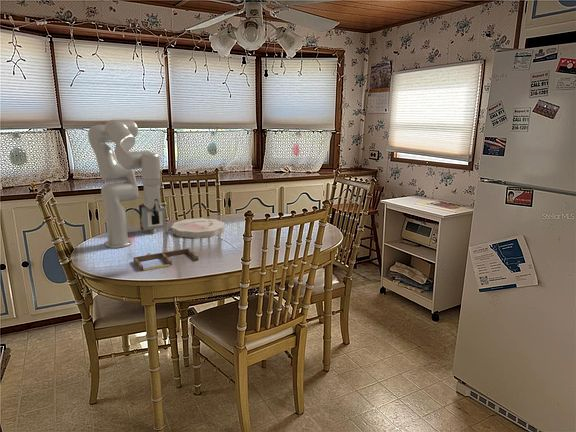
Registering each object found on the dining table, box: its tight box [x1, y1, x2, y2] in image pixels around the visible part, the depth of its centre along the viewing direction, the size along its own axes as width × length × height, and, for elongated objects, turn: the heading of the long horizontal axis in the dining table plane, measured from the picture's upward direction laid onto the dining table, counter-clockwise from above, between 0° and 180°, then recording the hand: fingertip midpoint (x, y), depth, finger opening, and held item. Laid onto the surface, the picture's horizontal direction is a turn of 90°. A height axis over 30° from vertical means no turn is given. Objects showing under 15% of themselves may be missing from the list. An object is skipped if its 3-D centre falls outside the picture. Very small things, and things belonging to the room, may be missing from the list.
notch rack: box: [133, 248, 200, 272], centre depth 186 cm, size 14×26×3 cm, turn 123°
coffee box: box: [138, 202, 161, 235], centre depth 229 cm, size 9×6×16 cm
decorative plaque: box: [170, 217, 226, 239], centre depth 236 cm, size 30×4×30 cm
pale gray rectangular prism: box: [141, 205, 167, 230], centre depth 179 cm, size 4×9×9 cm, turn 124°
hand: (154, 222), depth 179 cm, fingers closed on pale gray rectangular prism, 4 cm apart
